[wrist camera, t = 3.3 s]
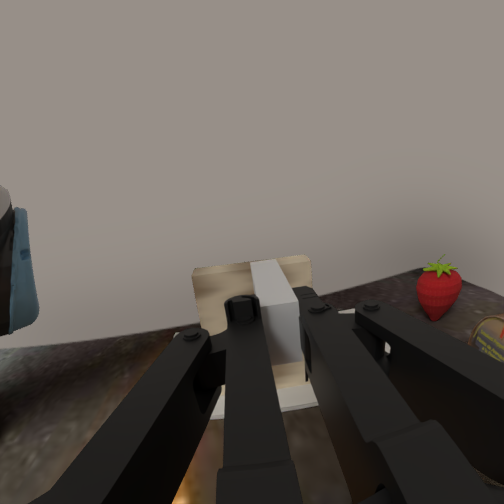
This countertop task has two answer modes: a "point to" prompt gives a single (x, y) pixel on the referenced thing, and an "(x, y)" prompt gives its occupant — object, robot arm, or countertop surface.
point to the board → (240, 283)
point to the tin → (489, 336)
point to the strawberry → (438, 289)
